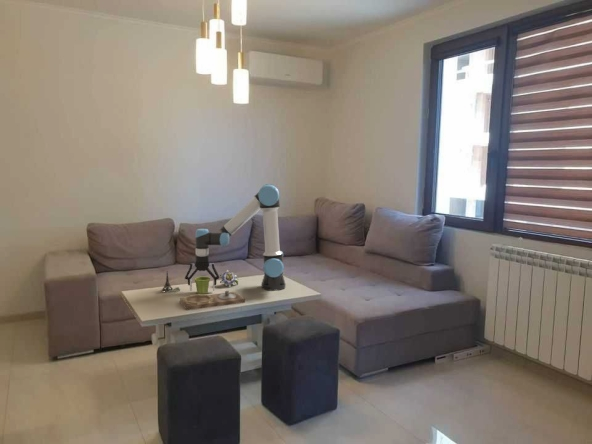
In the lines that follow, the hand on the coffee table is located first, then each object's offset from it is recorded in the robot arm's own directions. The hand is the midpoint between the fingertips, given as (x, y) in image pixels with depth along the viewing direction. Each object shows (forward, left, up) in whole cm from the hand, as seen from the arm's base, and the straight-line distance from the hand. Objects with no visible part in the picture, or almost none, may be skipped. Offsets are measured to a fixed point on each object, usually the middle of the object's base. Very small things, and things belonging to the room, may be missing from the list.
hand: (202, 290), depth 273 cm
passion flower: (-15, -16, -2) cm, 22 cm away
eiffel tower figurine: (+21, -6, -2) cm, 22 cm away
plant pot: (0, 0, -2) cm, 2 cm away
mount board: (-7, +20, -1) cm, 21 cm away
